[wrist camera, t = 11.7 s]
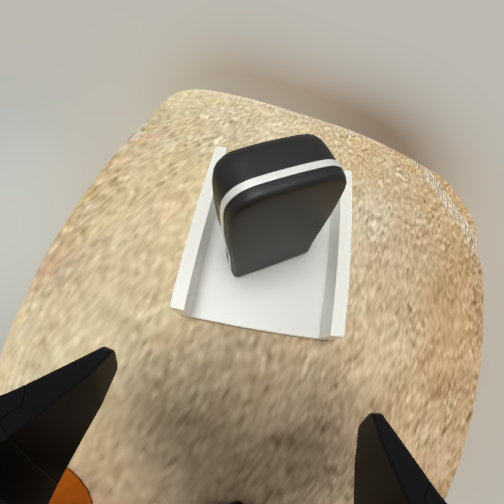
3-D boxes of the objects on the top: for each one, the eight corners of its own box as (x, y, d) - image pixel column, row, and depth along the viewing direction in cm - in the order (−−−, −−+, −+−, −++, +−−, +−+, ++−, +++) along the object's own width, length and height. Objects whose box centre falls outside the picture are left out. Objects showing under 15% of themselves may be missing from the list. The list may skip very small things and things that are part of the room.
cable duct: (327, 340, 22) (343, 337, 18) (181, 315, 22) (169, 307, 19) (338, 194, 27) (351, 171, 23) (218, 173, 27) (215, 146, 23)
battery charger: (292, 214, 25) (324, 117, 14) (311, 252, 24) (360, 169, 13) (216, 239, 24) (199, 145, 13) (231, 280, 22) (223, 208, 12)
